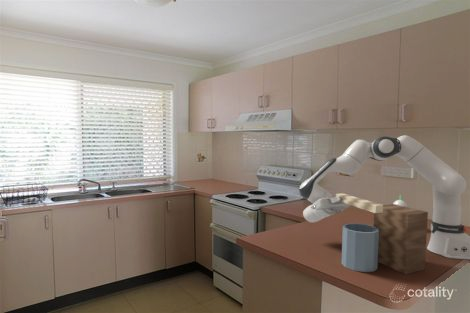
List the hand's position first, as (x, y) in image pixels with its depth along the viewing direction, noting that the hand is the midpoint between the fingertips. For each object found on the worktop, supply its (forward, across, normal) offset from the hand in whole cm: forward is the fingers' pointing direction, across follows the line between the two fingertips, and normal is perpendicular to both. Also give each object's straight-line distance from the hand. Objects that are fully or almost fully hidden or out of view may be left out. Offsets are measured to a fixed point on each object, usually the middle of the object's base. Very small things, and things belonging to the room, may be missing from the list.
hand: (345, 197), depth 137 cm
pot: (-6, 0, +28) cm, 29 cm away
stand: (0, +16, +31) cm, 35 cm away
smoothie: (-32, +65, +13) cm, 74 cm away
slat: (+5, 0, +6) cm, 8 cm away
